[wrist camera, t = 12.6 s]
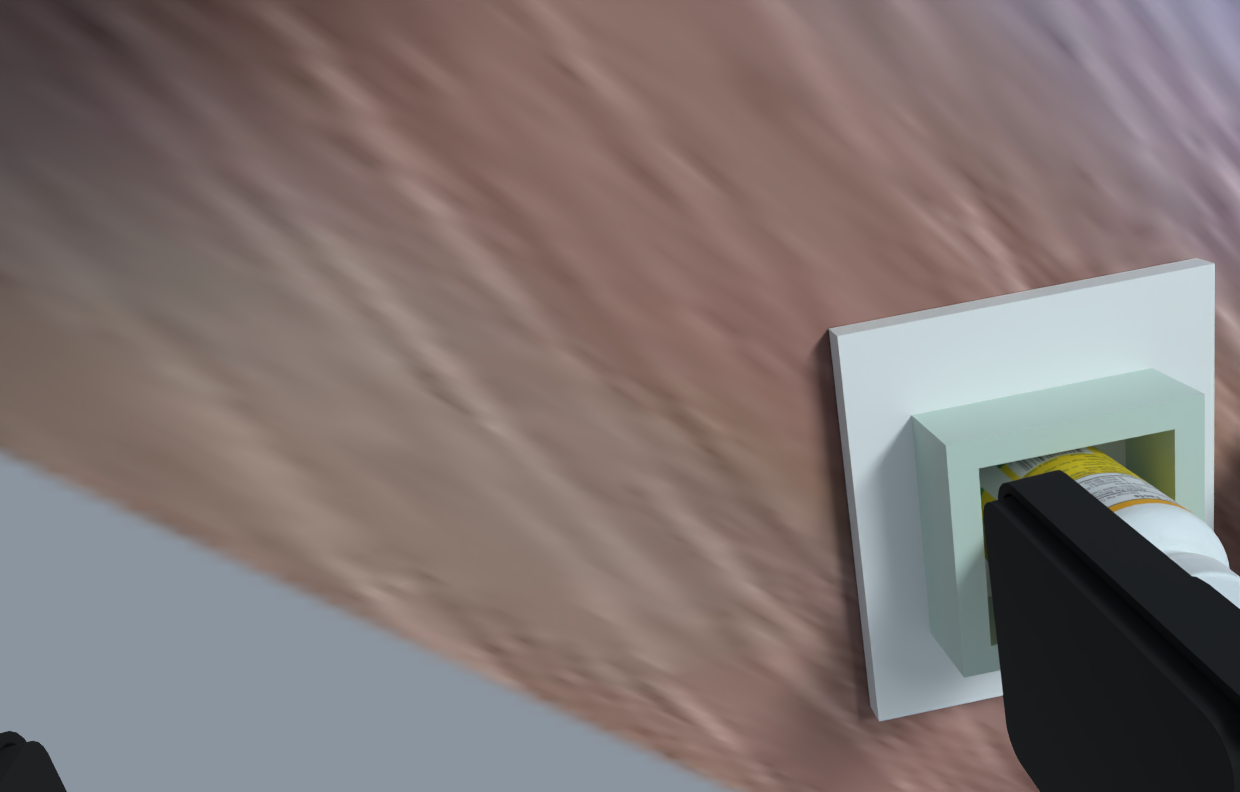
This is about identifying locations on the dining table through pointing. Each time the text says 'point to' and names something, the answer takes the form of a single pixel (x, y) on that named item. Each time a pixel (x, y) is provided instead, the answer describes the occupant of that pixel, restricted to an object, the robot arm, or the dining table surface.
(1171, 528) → the supplement bottle
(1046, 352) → the cup holder
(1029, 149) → the dining table surface
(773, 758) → the dining table surface
